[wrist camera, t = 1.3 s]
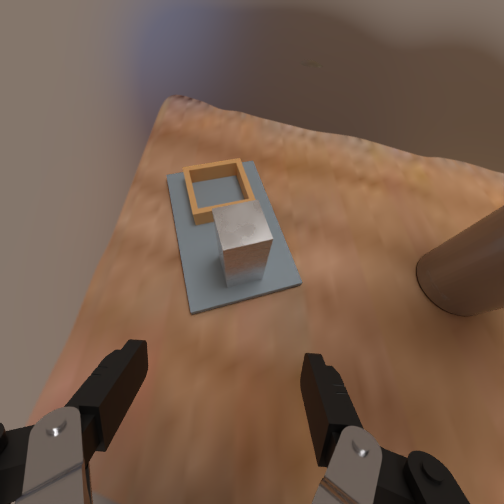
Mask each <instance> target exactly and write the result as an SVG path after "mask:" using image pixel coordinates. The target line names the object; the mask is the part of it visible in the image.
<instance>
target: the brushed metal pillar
mask: <svg viewBox="0 0 504 504" xmlns="http://www.w3.org/2000/svg"><path fill="white" fill-rule="evenodd" d="M212 214H213V220H214V226H215V233H216V239H217V246H218V252H219V258H220V261H221V265H222V269H223V273H224V277H225V281H226V285H227V288H230V287H234V286H238V285H242V284H246V283H250V282H253V281H257V280H261V279H263V275H264V271H265V268H266V264H267V260H268V257H269V253H270V249H271V245H272V242H273V237H272V234H271V232H270V229H269V226H268V224H267V221H266V219H265V216H264V213H263V211H262V208H261V205H260V203H259V200H253V201H248V202H243V203H238V204H233V205H228V206H223V207H218V208H212Z"/></svg>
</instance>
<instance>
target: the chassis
mask: <svg viewBox="0 0 504 504" xmlns="http://www.w3.org/2000/svg"><path fill="white" fill-rule="evenodd" d="M182 168H183V172H182V173H176V174H169V175H167V181H168V186H169V192H170V198H171V204H172V209H173V215H174V221H175V226H176V232H177V238H178V243H179V249H180V255H181V260H182V266H183V272H184V277H185V283H186V289H187V294H188V300H189V306H190V311H191V314H192V315H193V314H196V313H200V312H204V311H207V310H211V309H215V308H218V307H222V306H226V305H229V304H233V303H237V302H240V301H244V300H248V299H251V298H255V297H259V296H262V295H266V294H270V293H273V292H277V291H281V290H284V289H288V288H292V287H295V286H299V285H301V284H302V280H301V278H300V275H299V273H298V270H297V268H296V265H295V263H294V260H293V258H292V256H291V253H290V251H289V248H288V246H287V243H286V241H285V238H284V236H283V233H282V231H281V229H280V226H279V224H278V221H277V219H276V216H275V214H274V211H273V209H272V206H271V204H270V201H269V199H268V197H267V194H266V192H265V189H264V187H263V184H262V182H261V179H260V177H259V174H258V172H257V170H256V167H255V165H254V162H253V161H248V162H241V160H240V158H238V159H231V160H225V161H219V162H213V163H207V164H200V165H194V166H188V167H182ZM253 200H259V203H260V205H261V208H262V211H263V213H264V216H265V219H266V221H267V224H268V226H269V229H270V232H271V234H272V237H273V242H272V245H271V249H270V253H269V257H268V260H267V264H266V268H265V271H264V275H263V279H261V280H257V281H253V282H250V283H246V284H242V285H238V286H234V287H230V288H227V285H226V281H225V277H224V273H223V269H222V265H221V261H220V258H219V252H218V246H217V239H216V233H215V226H214V220H213V214H212V208H218V207H223V206H228V205H233V204H238V203H243V202H248V201H253Z"/></svg>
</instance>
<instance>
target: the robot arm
mask: <svg viewBox="0 0 504 504" xmlns="http://www.w3.org/2000/svg"><path fill="white" fill-rule="evenodd" d="M417 277H418V281H419V284H420V286H421V287H422V289H423V291H424V292H425V294H426V295H427V296H428V297H429V298H430V299H431V300H432V301H433V302H434V303H435V304H436V305H438V306H439V307H440V308H442V309H444V310H446V311H447V312H450V313H453V314H456V315H461V316H472V315H476V314H480V313H484V312H488V311H492V310H497V309H501V308H504V206H502V207H500V208H499V209H497V210H496V211H494V212H492V213H491V214H489V215H488V216H486V217H484V218H483V219H481V220H480V221H478V222H476V223H475V224H473V225H472V226H470V227H468V228H467V229H465V230H464V231H462V232H460V233H459V234H457V235H456V236H454V237H452V238H451V239H449V240H447V241H446V242H444V243H443V244H441V245H440V246H438V247H436V248H435V249H433V250H432V251H430V252H428V253H427V254H425V255H424V256H423V257H422V258H421V259H420V260H419V262H418V265H417ZM147 370H148V354H147V342H146V341H145V340H132V339H130V340H128V341H127V343H126V344H125V345H124V347H123V348H122V349H121V350H115V351H113V352H112V353H110V354H109V355H107V356H106V357H105V358H104V359H103V360H102V362H101V363H100V364H99V365H98V367H97V368H96V369H95V370H94V371H93V372H92V374H91V376H89V377H88V379H87V380H86V381H85V382H84V383H83V385H82V386H81V387H80V388H79V389H78V391H77V392H76V393H75V394H74V396H73V397H72V398H71V399H70V400H69V402H68V403H67V404H66V405H65V406H64V407H62V408H59V409H56V410H54V411H52V412H50V413H48V414H47V415H45V416H44V417H43V418H41V419H40V420H39V421H38V422H37V423H36V424H35V425H32V426H27V427H23V428H18V429H14V430H10V431H5V429H4V426H3V424H2V423H0V504H11V502H14V501H15V504H93V500H92V488H91V476H90V465H89V461H90V459H91V457H92V456H93V454H94V452H95V451H103V452H106V450H107V448H108V446H109V444H110V443H111V441H112V439H113V437H114V435H115V433H116V431H117V430H118V428H119V426H120V424H121V422H122V420H123V418H124V417H125V415H126V413H127V411H128V409H129V407H130V405H131V404H132V402H133V400H134V398H135V396H136V394H137V392H138V391H139V389H140V387H141V385H142V383H143V381H144V379H145V377H146V374H147ZM300 386H301V392H302V397H303V401H304V406H305V410H306V415H307V419H308V424H309V428H310V433H311V437H312V442H313V446H314V451H315V455H316V459H317V464H318V466H319V467H327V471H326V473H325V476H324V478H322V480H321V482H320V484H319V487H318V489H317V492H316V494H315V497H314V499H313V501H312V504H470V503H469V501H468V500H467V498H466V496H465V495H464V493H463V492H462V490H461V488H460V487H459V485H458V484H457V482H456V480H455V479H454V477H453V476H452V474H451V473H450V471H449V470H448V469H447V468H446V467H445V466H444V465H443V464H442V463H441V462H440V461H439V460H437V459H436V458H435V457H433V456H432V455H430V454H428V453H425V452H423V451H412V452H411V453H410V454H409V456H408V458H406V457H404V456H401V455H399V454H396V453H393V452H391V451H388V450H386V449H384V448H382V447H381V446H379V444H378V442H377V441H376V440H375V438H374V437H373V436H372V435H371V434H370V433H369V432H367V431H366V430H364V429H363V427H362V424H361V422H360V420H359V417H358V415H357V413H356V411H355V408H354V406H353V404H352V401H351V399H350V397H349V395H348V392H347V390H346V388H345V387H344V383H343V381H342V379H341V376H340V374H339V373H338V372H337V371H336V370H335V369H334V368H333V367H332V366H326V365H325V362H324V360H323V357H322V355H321V354H314V353H306V354H305V356H304V362H303V367H302V372H301V378H300Z"/></svg>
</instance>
